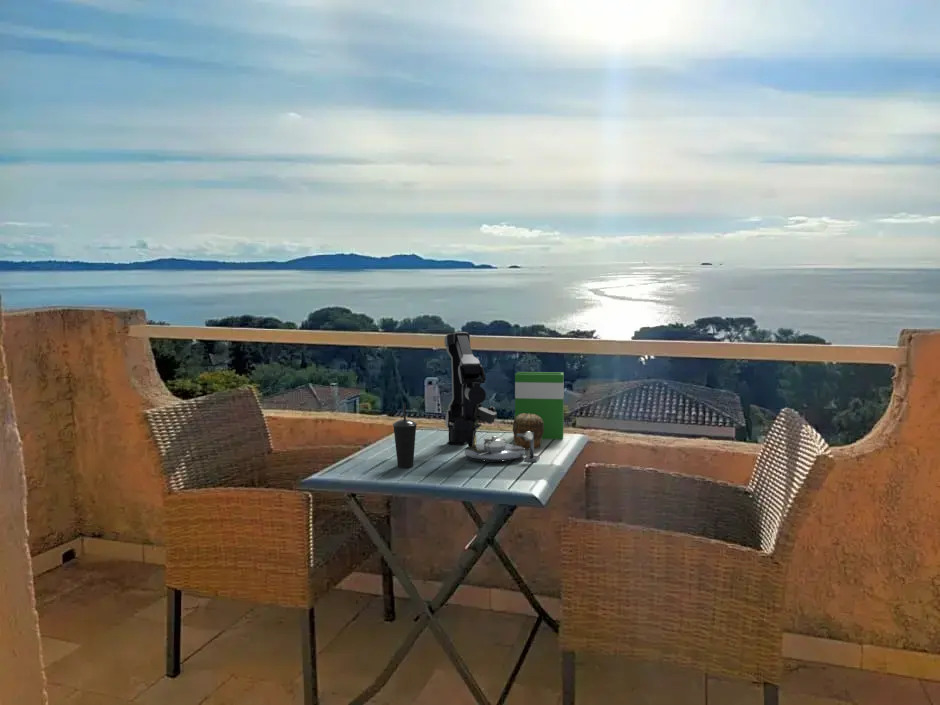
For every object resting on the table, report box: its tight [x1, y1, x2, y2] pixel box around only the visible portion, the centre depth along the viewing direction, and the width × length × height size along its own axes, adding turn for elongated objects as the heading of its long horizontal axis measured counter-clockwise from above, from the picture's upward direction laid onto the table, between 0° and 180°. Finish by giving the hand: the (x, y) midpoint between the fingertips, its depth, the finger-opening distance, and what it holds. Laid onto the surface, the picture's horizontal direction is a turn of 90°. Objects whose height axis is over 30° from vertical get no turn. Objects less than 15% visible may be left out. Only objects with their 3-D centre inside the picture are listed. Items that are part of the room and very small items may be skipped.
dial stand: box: [517, 431, 540, 463], centre depth 240 cm, size 7×5×10 cm
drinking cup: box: [392, 403, 418, 469], centre depth 232 cm, size 8×8×20 cm
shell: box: [512, 413, 544, 450], centre depth 259 cm, size 11×11×12 cm
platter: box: [464, 434, 526, 461], centre depth 243 cm, size 20×20×5 cm
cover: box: [483, 435, 506, 452], centre depth 243 cm, size 7×7×4 cm
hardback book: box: [514, 371, 565, 440], centre depth 277 cm, size 18×7×24 cm, turn 81°
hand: (470, 446), depth 245 cm, fingers closed
